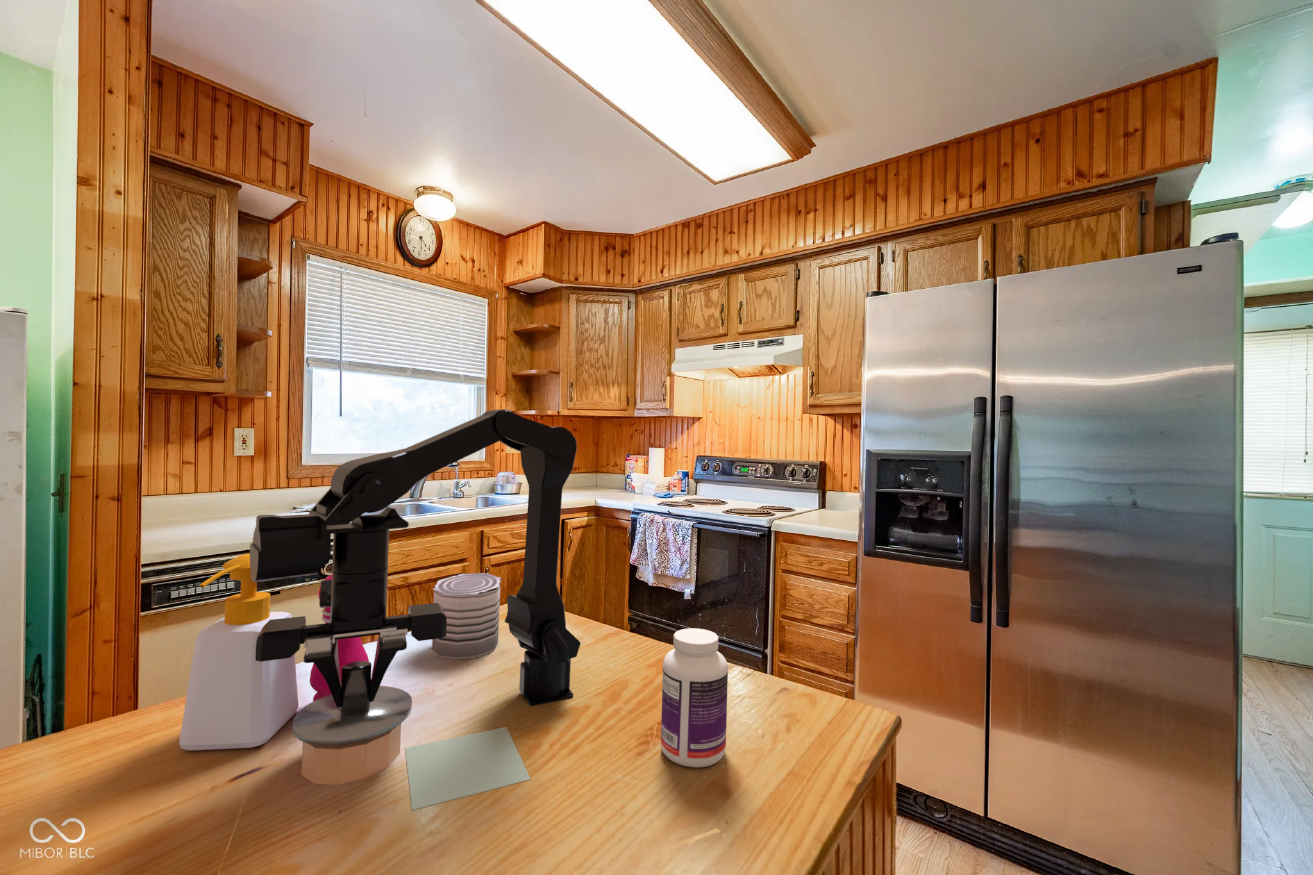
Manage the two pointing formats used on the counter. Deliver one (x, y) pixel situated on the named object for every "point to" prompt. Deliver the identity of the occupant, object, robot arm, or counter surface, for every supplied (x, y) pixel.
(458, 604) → the can
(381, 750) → the bowl
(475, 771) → the mat
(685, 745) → the pill bottle
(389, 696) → the lid
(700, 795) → the counter surface
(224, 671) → the soap bottle
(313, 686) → the pepper mill
